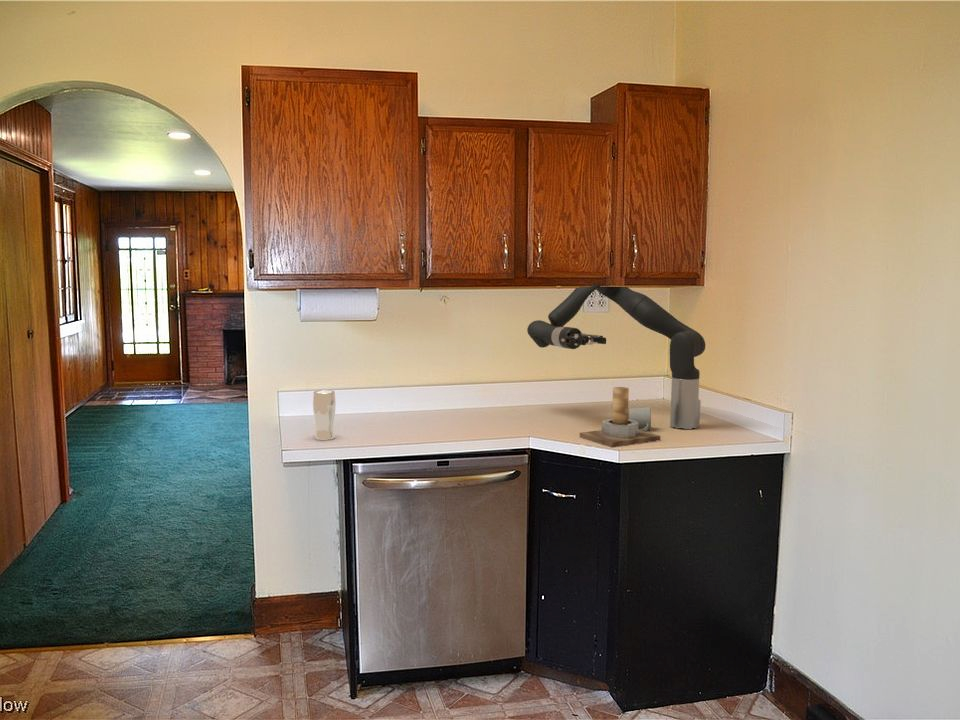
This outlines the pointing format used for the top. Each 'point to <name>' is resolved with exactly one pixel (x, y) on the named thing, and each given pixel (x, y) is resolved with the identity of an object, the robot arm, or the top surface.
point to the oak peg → (620, 405)
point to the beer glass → (324, 414)
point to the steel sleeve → (620, 429)
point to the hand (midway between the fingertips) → (595, 341)
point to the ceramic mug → (641, 417)
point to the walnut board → (613, 442)
